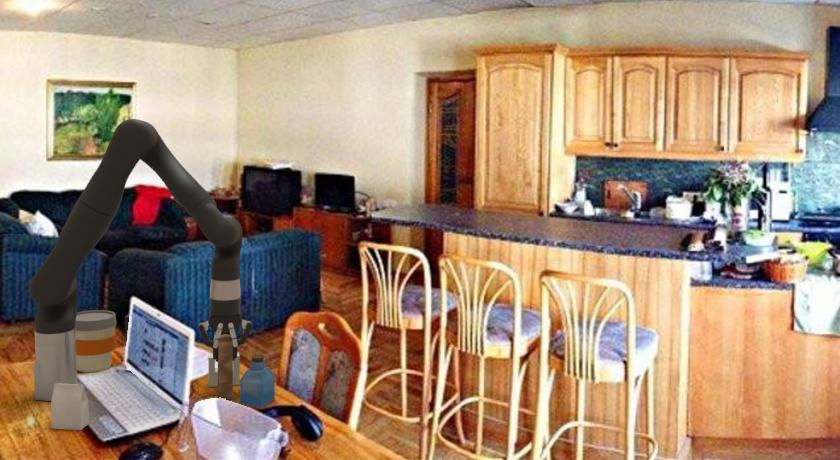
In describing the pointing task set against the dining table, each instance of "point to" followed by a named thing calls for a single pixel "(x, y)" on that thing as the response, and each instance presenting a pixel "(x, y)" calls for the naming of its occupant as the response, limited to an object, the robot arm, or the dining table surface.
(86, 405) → the grey box
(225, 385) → the walnut plate
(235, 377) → the slotted stand
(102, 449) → the dining table surface
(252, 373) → the perfume bottle
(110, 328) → the reusable coffee cup
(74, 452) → the dining table surface
